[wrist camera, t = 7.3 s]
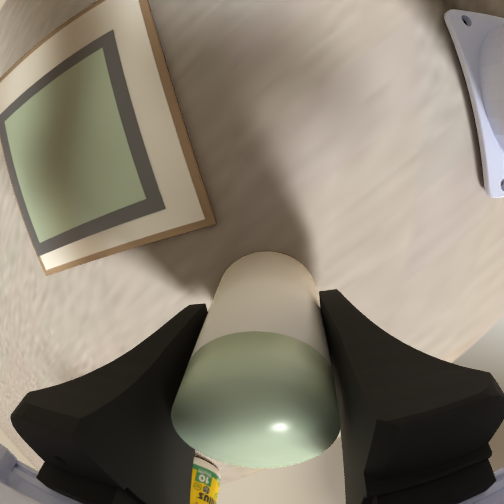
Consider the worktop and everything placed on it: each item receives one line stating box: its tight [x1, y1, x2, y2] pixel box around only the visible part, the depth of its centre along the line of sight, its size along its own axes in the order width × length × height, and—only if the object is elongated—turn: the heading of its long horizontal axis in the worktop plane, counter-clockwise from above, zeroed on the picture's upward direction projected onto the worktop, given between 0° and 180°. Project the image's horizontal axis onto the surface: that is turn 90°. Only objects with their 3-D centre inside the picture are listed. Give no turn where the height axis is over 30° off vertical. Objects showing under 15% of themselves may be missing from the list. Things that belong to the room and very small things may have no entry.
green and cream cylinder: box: [171, 251, 341, 468], centre depth 9 cm, size 4×4×6 cm
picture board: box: [0, 0, 216, 276], centre depth 10 cm, size 10×11×1 cm
